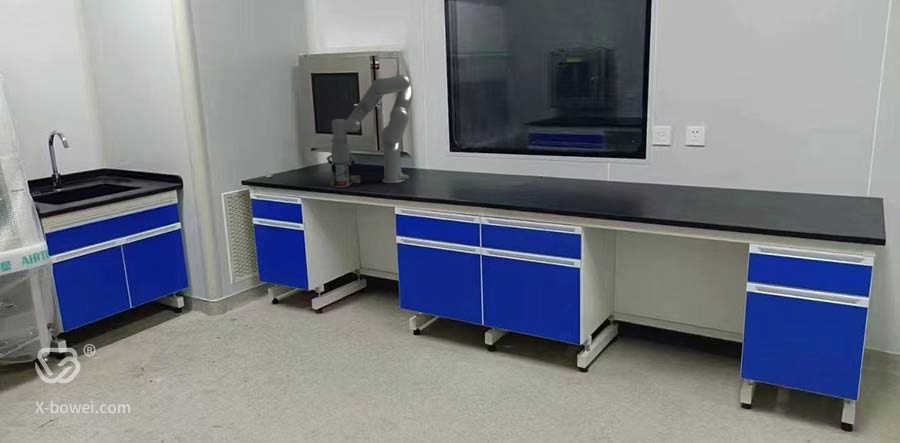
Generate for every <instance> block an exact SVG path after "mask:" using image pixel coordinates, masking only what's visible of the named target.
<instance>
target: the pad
mask: <svg viewBox="0 0 900 443" xmlns="http://www.w3.org/2000/svg"><path fill="white" fill-rule="evenodd" d="M351 184H353V183H349V184H347V185H346V186H347V187H348V186H350V185H351ZM346 186H337V185H335V186H334V188H344V187H345V188H346Z"/></svg>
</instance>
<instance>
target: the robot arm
mask: <svg viewBox="0 0 900 443" xmlns="http://www.w3.org/2000/svg"><path fill="white" fill-rule="evenodd" d="M395 93H396V94H397V95H396V97H395V101H394V104H393V106H392V108H391V111H390V113H389V122H388V123H387V126H385V127H384V128H383V130H382V132H381V138H382V139H381V140H382V152H383V153H382V154H383V168H384V169H383V170H384V178H383V179H382V183H386V184H398V183H403V182H405V180H407V179H409V177H410V176H409V174H404V172H402V162H401V161H402V159H401V158H402V157H401V140H402V137H403V135H404V132H405V131H406V128H407V125H408V122H409V113H408V112H409V109H410V106H411V104H412V101H413V97H414V96H413V93H414V92H413V88H412V85H411V80H410V78H409V77H408V76H407V75H405V74H396V75H395V76H390V77H384V78H376V79H375V80H373V82H372V83H371V85H370V86H369V88H368V89H367V90H366V92H365V94H364V95H363V96H362V97H361V99H360V101H359V102H358V103H357V105H356V107H354V109H353V110H352V112H351V113H350V114H349V116H348V118H347V119H344V118H336V119H332V121H331V127H332V128H331V129H332V139H330V142H331V143H333V144H331V154H330V155H329V156H326V158H325V159H326V160H327V162H328V164H330V166H331V171H332V173H336V163H337V164H339V163H348V172H349V173H352V172H353V171H354V169H353V167H354V166H353V165H354V164H355V163H356V160H357V156H355V155H353V154H351V147H350V144H349V143H348V135H347V133H356V132H358V131H359V130H360V129H361V124H362V122H363V121H364V119H365V118H366V117H367V115H368V114H369V113H370V112H373V110H374V109H375V108H376V106H377V105H378V104H379V102H380V101H381V99H382V98H383V96H384V95H388V94H389V95H390V94H395Z"/></svg>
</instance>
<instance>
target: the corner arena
mask: <svg viewBox="0 0 900 443" xmlns="http://www.w3.org/2000/svg"><path fill="white" fill-rule="evenodd" d="M349 183H352V184H360V183H361V176H360V175H349ZM331 186H333V187H335V186H337V178H336V176H334V177H333V178H331V179H330V187H331Z"/></svg>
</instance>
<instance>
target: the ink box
mask: <svg viewBox="0 0 900 443" xmlns="http://www.w3.org/2000/svg"><path fill="white" fill-rule="evenodd" d="M335 166H336V172H335V177H336V178H337V185H336V186H346V185H347V184H349V176H350V175H349V173H350V172H349V164H348V162H341V163H337V164H335Z"/></svg>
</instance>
